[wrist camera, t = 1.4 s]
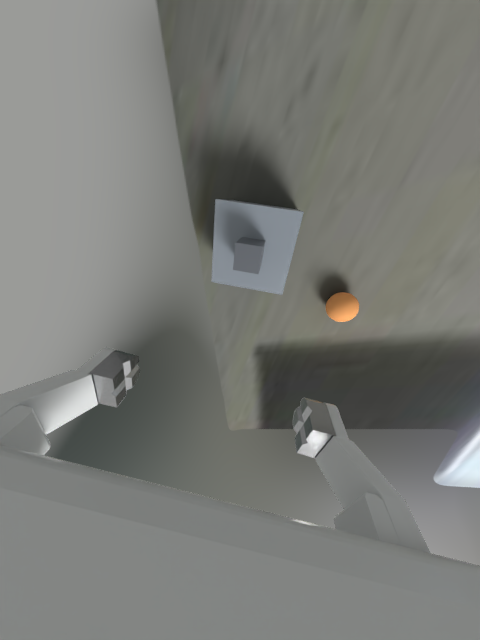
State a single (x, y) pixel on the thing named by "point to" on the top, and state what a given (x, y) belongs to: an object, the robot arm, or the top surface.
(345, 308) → the ball
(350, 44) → the top surface
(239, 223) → the grey box with knob
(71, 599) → the robot arm
